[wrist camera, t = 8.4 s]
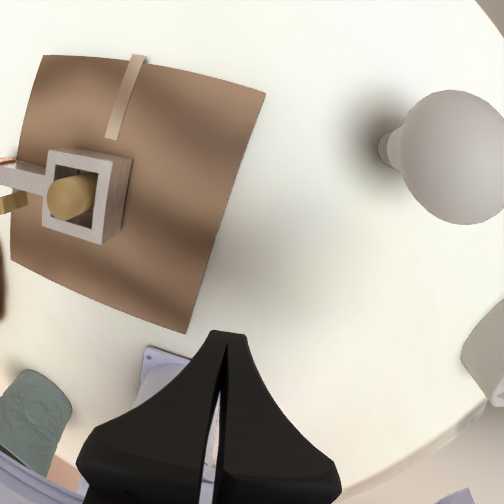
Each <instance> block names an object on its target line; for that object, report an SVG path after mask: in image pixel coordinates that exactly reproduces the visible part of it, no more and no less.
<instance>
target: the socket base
mask: <svg viewBox="0 0 504 504" xmlns="http://www.w3.org/2000/svg"><path fill="white" fill-rule="evenodd" d="M145 57H146V56H143V55H135V54H132V57H131V59H130V61H126V60H118V59H109V58H98V57H85V56H63V55H43V58H42V60H41V63H40V66H39V69H38V72H37V75H36V78H35V81H34V84H33V87H32V91H31V94H30V98H29V101H28V105H27V109H26V113H25V117H24V121H23V126H22V131H21V136H20V141H19V146H18V152H17V158H16V162H21V163H26V164H31V165H35V166H40V167H45V168H46V164H47V157H48V150H52V149H61V148H78V149H84V150H89V151H95V152H100V153H106V154H111V155H116V156H121V157H126V158H130V159H132V163H131V168H130V173H129V179H128V184H127V190H126V196H125V202H124V208H123V215H122V222H121V229H120V232H119V233H118V234H116V235H115V236H113V237H112V238H111V239H109V240H108V241H106V242H105V243H104V244H102V245H99V244H96V243H93V242H90V241H87V240H84V239H80V238H77V237H74V236H71V235H68V234H65V233H62V232H59V231H56V230H53V229H50V228H47V227H44V226H42V207H43V196H41V195H37V194H34V193H30V192H26V191H23V190H19V189H15V188H13V192H12V194H10V195H6V196H3V197H1V198H0V215H1V214H6V213H8V212H10V211H11V227H10V252H11V260H12V261H14V262H16V263H18V264H20V265H22V266H24V267H26V268H27V269H29V270H31V271H33V272H35V273H37V274H39V275H41V276H43V277H45V278H47V279H49V280H51V281H53V282H55V283H58V284H60V285H62V286H64V287H66V288H68V289H70V290H73V291H75V292H77V293H79V294H81V295H84V296H86V297H88V298H91V299H93V300H95V301H98V302H100V303H102V304H105V305H107V306H109V307H112V308H114V309H117V310H119V311H122V312H124V313H127V314H129V315H132V316H135V317H137V318H140V319H142V320H145V321H148V322H151V323H153V324H156V325H159V326H162V327H164V328H167V329H170V330H173V331H176V332H179V333H182V334H186V331H187V329H188V325H189V322H190V318H191V315H192V311H193V308H194V305H195V301H196V298H197V295H198V291H199V288H200V285H201V282H202V278H203V275H204V272H205V269H206V265H207V262H208V259H209V256H210V253H211V250H212V246H213V243H214V240H215V237H216V234H217V231H218V228H219V225H220V222H221V219H222V216H223V213H224V210H225V207H226V204H227V201H228V198H229V195H230V192H231V189H232V186H233V183H234V180H235V178H236V175H237V172H238V169H239V166H240V163H241V160H242V158H243V155H244V152H245V149H246V146H247V144H248V141H249V138H250V135H251V133H252V130H253V127H254V125H255V122H256V119H257V117H258V114H259V111H260V109H261V106H262V103H263V101H264V98H265V95H266V93H264V92H261V91H258V90H255V89H252V88H248V87H245V86H242V85H238V84H235V83H232V82H228V81H224V80H221V79H217V78H213V77H209V76H205V75H201V74H197V73H193V72H188V71H184V70H179V69H174V68H169V67H164V66H158V65H153V64H147V63H143V62H144V60H145ZM98 175H99V173H95V172H90V171H86V170H81V169H78V170H77V175H75V176H70V177H66V178H63V179H59V180H56V181H54V182H53V183H52V184H51V185H50V187H49V189H48V192H47V205H48V208H49V211H50V212H51V214H52V215H53V216H54V217H55V218H56V219H58V220H61V221H66V220H69V219H71V218H73V217H75V216H77V215H79V214H81V213H83V212H85V211H89V212H92V213H93V211H94V203H95V195H96V188H97V181H98Z"/></svg>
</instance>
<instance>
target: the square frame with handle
mask: <svg viewBox="0 0 504 504" xmlns="http://www.w3.org/2000/svg"><path fill="white" fill-rule="evenodd" d="M131 163H132V159H130V158H126V157H121V156H116V155H111V154H106V153H100V152H95V151H89V150H84V149H78V148H61V149H52V150H48V157H47V164H46V168H45V167H40V166H35V165H31V164H26V163H21V162H16V159H13V158H7V157H3V158H0V185H4V186H8V187H12V188H15V189H19V190H23V191H26V192H30V193H34V194H37V195H41V196H43V207H42V226H44V227H47V228H50V229H53V230H56V231H59V232H62V233H65V234H68V235H71V236H74V237H77V238H80V239H84V240H87V241H90V242H93V243H96V244H99V245H102V244H104V243H105V242H106V241H108V240H109V239H111V238H112V237H113V236H115V235H116V234H118V233H119V232H120V229H121V222H122V215H123V208H124V202H125V196H126V190H127V184H128V179H129V173H130V168H131ZM78 169H81V170H86V171H90V172H95V173H99V175H98V181H97V188H96V195H95V203H94V211H93V213H92V212H89V211H85V212H83V213H81V214H79V215H77V216H75V217H73V218H71V219H69V220H66V221H61V220H58V219H56V218H55V217H54V216H53V215H52V214H51V212H50V211H49V208H48V205H47V192H48V189H49V187H50V185H51V184H52V183H53V182H54V181H56V180H59V179H63V178H66V177H70V176H75V175H77V170H78Z"/></svg>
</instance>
